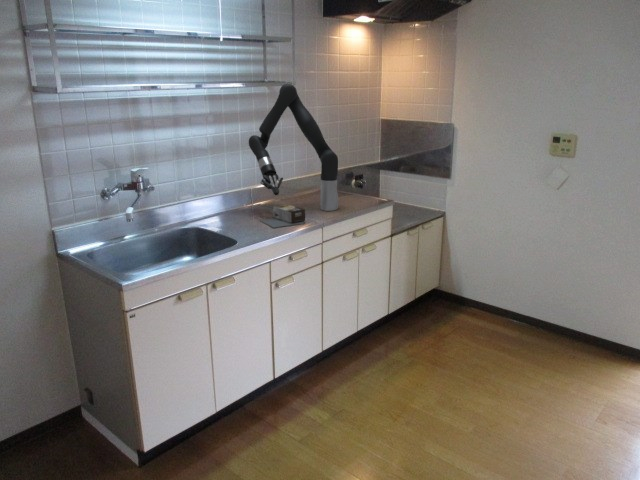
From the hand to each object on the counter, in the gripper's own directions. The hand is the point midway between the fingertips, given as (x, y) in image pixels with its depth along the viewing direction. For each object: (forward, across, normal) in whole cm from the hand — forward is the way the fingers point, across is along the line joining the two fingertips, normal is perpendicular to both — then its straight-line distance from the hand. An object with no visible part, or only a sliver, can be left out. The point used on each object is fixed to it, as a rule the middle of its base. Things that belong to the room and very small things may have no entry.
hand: (277, 194), depth 273 cm
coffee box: (+4, +3, +10) cm, 11 cm away
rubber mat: (+14, 0, +6) cm, 15 cm away
